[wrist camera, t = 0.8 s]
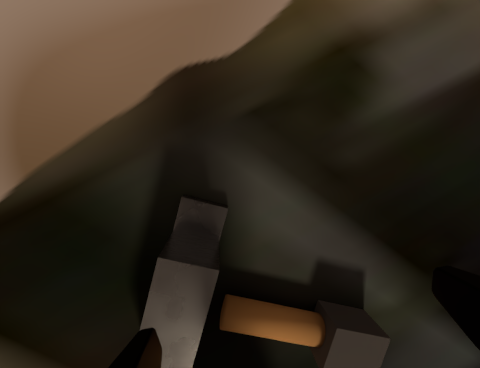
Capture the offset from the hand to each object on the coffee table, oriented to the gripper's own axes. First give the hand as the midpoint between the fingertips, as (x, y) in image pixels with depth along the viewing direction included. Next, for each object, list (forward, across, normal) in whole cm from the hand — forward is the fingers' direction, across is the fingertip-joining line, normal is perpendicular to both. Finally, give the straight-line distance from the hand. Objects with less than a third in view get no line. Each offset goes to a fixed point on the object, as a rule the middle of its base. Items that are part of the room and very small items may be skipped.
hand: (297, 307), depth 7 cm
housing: (+12, +8, +9) cm, 17 cm away
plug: (+12, -2, +14) cm, 18 cm away
